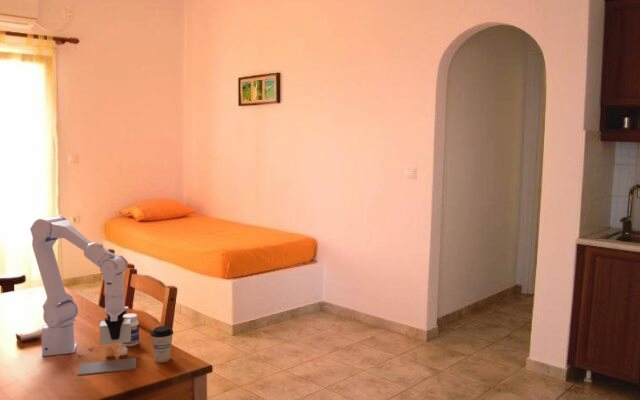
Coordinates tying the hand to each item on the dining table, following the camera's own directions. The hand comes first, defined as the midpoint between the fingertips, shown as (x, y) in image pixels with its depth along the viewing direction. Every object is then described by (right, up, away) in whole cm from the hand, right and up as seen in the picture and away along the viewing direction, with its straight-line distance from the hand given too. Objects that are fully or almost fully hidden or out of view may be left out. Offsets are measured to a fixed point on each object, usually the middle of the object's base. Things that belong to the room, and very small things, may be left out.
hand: (115, 336), depth 171 cm
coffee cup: (+15, -7, -2) cm, 17 cm away
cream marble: (+2, -6, +1) cm, 7 cm away
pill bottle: (+1, -6, +11) cm, 13 cm away
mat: (+1, -7, -8) cm, 11 cm away
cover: (0, -1, 0) cm, 2 cm away
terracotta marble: (-2, -7, 0) cm, 7 cm away
